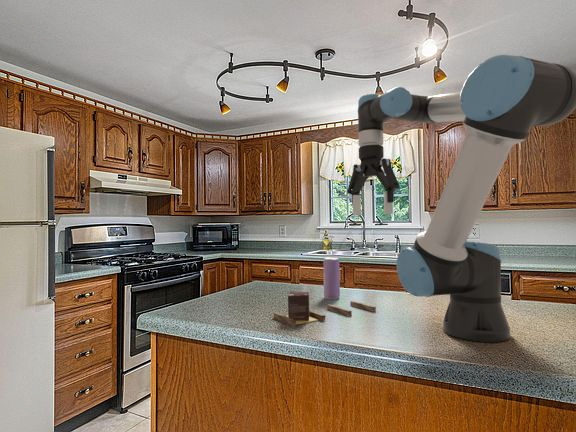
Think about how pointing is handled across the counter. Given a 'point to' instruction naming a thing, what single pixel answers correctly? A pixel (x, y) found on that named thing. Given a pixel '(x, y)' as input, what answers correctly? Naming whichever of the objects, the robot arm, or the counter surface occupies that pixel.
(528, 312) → the counter surface
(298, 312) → the box
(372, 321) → the counter surface
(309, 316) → the pad
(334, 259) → the beverage can
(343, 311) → the notch rack
